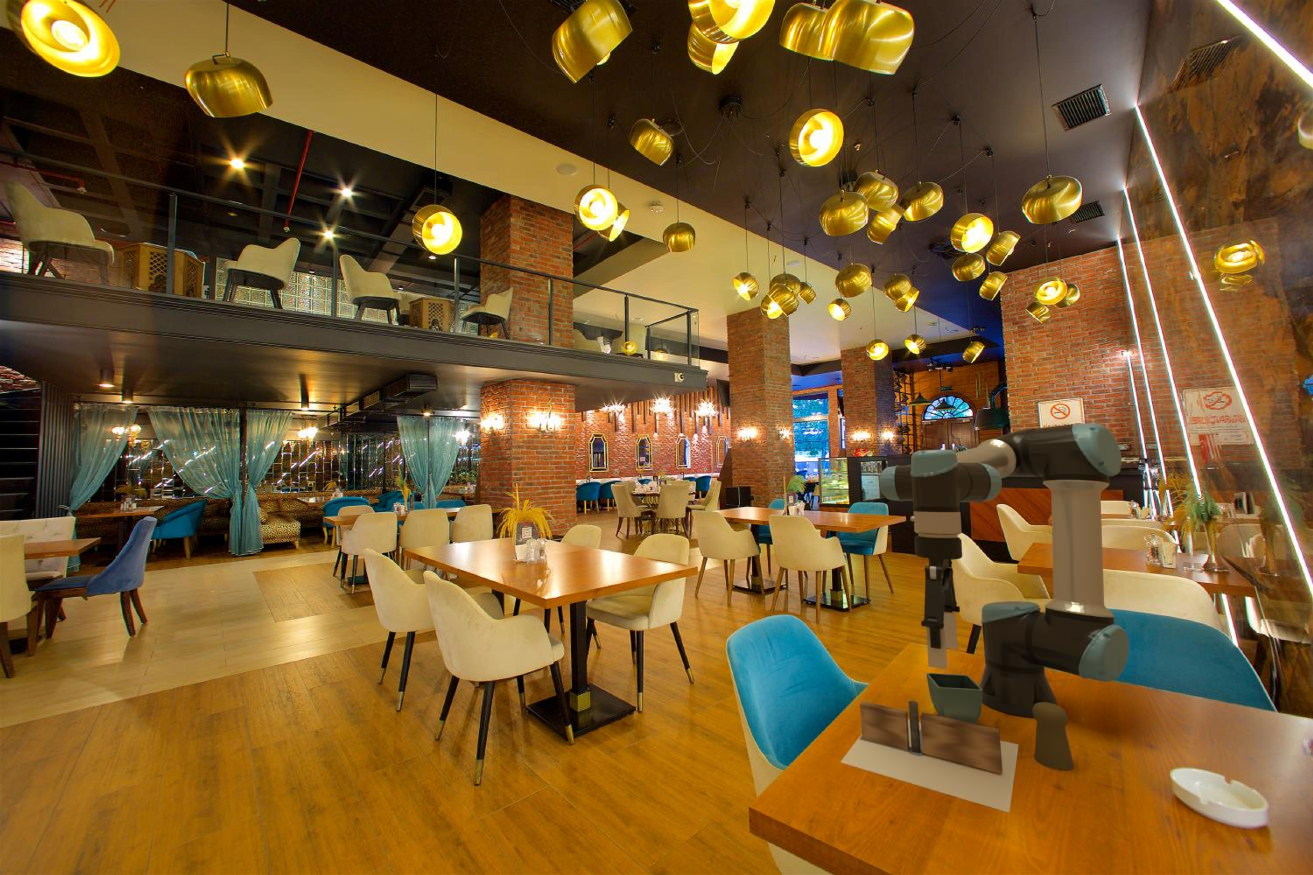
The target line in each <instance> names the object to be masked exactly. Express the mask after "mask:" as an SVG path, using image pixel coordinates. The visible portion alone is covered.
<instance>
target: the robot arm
mask: <svg viewBox="0 0 1313 875" xmlns="http://www.w3.org/2000/svg"><path fill="white" fill-rule="evenodd" d="M910 459H911V462H910V463H911V464H907V465H895V466H888V467H885V468H884V469H883V470H882V471H881V473H880V476H879V480H878V483H879V490H880V492H881V494H882V495H883V496H884V497H885V498H886V499H887V500H891V501H899V502H912V503H913V515H911V516H910V520H909V521H911V522H914V523H913V527H914V529H913V530H914V531H913V532H915V533H916V534H918V535H915V537H914V553H915V554H914V555H916V556H917V557H918V558H922V559H928V565H925V566H924V578H925V581H924V583H925V584H924V606H923V608H924V611H923V620H921V621H920V625H921V627H925V628H926V644H927V645H926V646H927V647H926V648H927V663H928V666H927V667H929V668H934V669H939V670H948V659H947V658H948V657H947V649H949V650H955V651H956V650H958V647H959V646H958V633H957V614H956V613H960V612H961V607H960V606H958V603H957V599H956V591H955V582H954V568H953V560H960V559H961V558H963V545H962V544H963V542H962V540H963V539H961V538H960V537H959V535H961V534H962V517H961V510H960V503H979V504H981V503H984V502H989V501H991V500H994V499H995V498H996V497H998V495H999V494H1000V492H1001V490H1002V486H1003V482H1002V479H1005V478H1008V477H1010V478H1011V477H1015V478H1016V477H1018V478H1019V477H1023V478H1042V484H1043V485H1044V486H1045V487H1046V488H1048V489H1049V490H1050V492H1051V534H1052V535H1051V536H1052V537H1051V538H1052V539H1051V540H1052V542H1051V543H1052V587H1053V588H1052V589H1053V590H1052V594H1053V595H1052V596H1053V598H1052V600H1050V601H1049V602H1048V603H1046V604H1045V605H1044V607H1045V608H1044V609H1045V610H1044V611H1043V612H1042V611H1041V607H1040V606H1039V604H1038V603H1035V602H1031V601H1020V600H1019V601H1015V600H1013V601H1011V600H1010V601H996V602H995V601H994V602H989V603H986V604H984V605H983V606H982V608H981V621H980V623H981V627H982V638H983V639H982V640H983V651H984V652H983V653H984V662H985V663H984V668H983V672H982V675H981V679H980V682H979V686H980V687H981V688H982V689H983V693H982V704H984V705H985V706H988V707H989V708H992V709H994V710H997V711H1000V712H1003V713H1006V714H1009V715H1015V716H1019V717H1027V718H1034V715H1033V711H1032V709H1033V706H1034V705H1035V704H1036V703H1039V702H1047V703H1052V704H1055V705H1058V702H1057V698H1056V696H1055V693H1054V691H1053V690H1052V687H1051V685H1050V683H1049V680H1048V678H1047V676H1046V670H1045V668H1047V669H1051V670H1056V671H1060V672H1063V673H1067V674H1071V675H1074V676H1078V677H1081V678H1082V679H1085V680H1089V679H1090V680H1095V681H1099V682H1103V683H1105V682H1106V683H1108V682H1113V681H1114V680H1116V679H1118V678H1119V677H1120V676H1121V674H1122V673H1123V671H1124V670H1125V667H1126V665H1127V662H1128V658H1129V652H1130V639H1129V637H1128V633H1127V631H1126V630H1125V629H1124V628H1123V627H1121V626H1120V625H1118V624H1115V615H1114V614H1113V613H1112V612H1111V611H1110V610H1109V609H1108V608H1107V607H1106V606H1105V591H1104V590H1105V588H1104V584H1105V583H1104V563H1103V562H1104V558H1103V532H1102V531H1103V526H1102V499H1101V498H1102V497H1101V493H1102V492H1103V491H1104V490H1105V489H1107V488H1108V487H1109V486H1110V477H1114V476H1117V475H1118V474H1119V473H1120V472H1121V469H1122V468H1121V467H1123V466H1122V465H1123V461H1122V453H1121V448H1120V446H1119V443H1118V441H1117V439H1116V437H1115V435H1114V434H1113V433H1112V431H1110V430H1109V428H1107V427H1106V426H1105V425H1103V424H1100V423H1095V422H1093V423H1092V422H1090V423H1074V424H1064V425H1055V426H1046V427H1038V428H1037V427H1036V428H1026V429H1021V430H1017V431H1013V432H1010V433H1007V434H1004V435H999V436H997V437H994V438H990V439H987V440H985V441H982V442H981V443H979V444H978V445H977V446H976V447H973V448H969V449H965V450H961V451H957V452H955V451H954V450H951V449H926V450H918V451H915V452H913V453H912V455H911V458H910Z"/></svg>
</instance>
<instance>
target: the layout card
mask: <svg viewBox="0 0 1313 875" xmlns="http://www.w3.org/2000/svg"><path fill="white" fill-rule="evenodd" d="M908 729H909V745H910V748H909V750H908V751H907V750H903V749H899V748H896V747H892V746H888V745H884V744H880V743H877V742H873V741H869V740H865V739H862V733H861V734H860V735H859V737H858V739H856V741H855V742H854V743H853V745H852V746H851V747H850V748H849V750H848V752H847V753H846V754H845V755H844V757H842V759H841V761H840V764H844V765H848V766H851V767H853V768H858V769H861V770H864V771H867V772H871V773H874V774H877V775H881V776H885V777H888V778H892V779H894V780H899V781H901V782H905V783H907V784H908V783H909V784H912V785H915V786H918V787H921V788H925V789H928V790H932V791H935V792H938V793H941V794H944V795H948V796H951V797H954V798H958V799H961V800H965V801H969V802H972V803H975V804H978V805H982V806H985V807H989V808H992V809H996V810H999V811H1002V812H1005V813H1008V814H1009V813H1010V809H1011V804H1012V802H1011V801H1012V796H1013V788H1014V781H1015V773H1016V767H1017V761H1018V760H1017V759H1018V752H1019V744H1017V743H1013V742H1008V741H1004V740H1001V739H1000V743H1001V756H1002V769H1003V770H1002V774H1001V773H997V772H993V771H989V770H986V769H982V768H978V767H974V766H970V765H967V764H963V763H959V762H955V761H951V760H947V759H944V758H940V757H936V756H932V755H928V754H925V753H923V748H922V733H921V721H919V730H920V746H921V753H914V752H912V750H911V733H910V718H908Z"/></svg>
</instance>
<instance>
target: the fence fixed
mask: <svg viewBox="0 0 1313 875" xmlns="http://www.w3.org/2000/svg"><path fill="white" fill-rule="evenodd" d="M859 707H860V725H861V726H860V727H861V734H862V739H865V740H869V741H873V742H877V743H880V744H884V745H888V746H892V747H896V748H899V749H903V750H907V751H908V750H909V748H910V745H909V729H908V719H910V733H911V750H912V752H914V753H921V746H920V730H919V722H920V715H919V703H918V702H917V701H915V700H909V701H908V710H904V709H899V708H897V707H896V708H895V707H891V706H886V705H881V704H877V703H873V702H868V701H864V700H862V701H861V702H860V703H859ZM908 715H909V716H908Z"/></svg>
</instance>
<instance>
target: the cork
mask: <svg viewBox="0 0 1313 875" xmlns="http://www.w3.org/2000/svg"><path fill="white" fill-rule="evenodd" d="M1032 711H1033V715H1034V717H1033V718H1034V720H1035V721H1036V728H1035V729H1036V730H1035V732H1036V733H1035V742H1034V743H1035V746H1034V756H1033V757H1034V760H1035V762H1036V763H1038V764H1040V765H1041V766H1044V767H1045V768H1049V769H1051V770H1054V771H1061V772H1062V771H1065V772H1069V771H1072V770H1074V768H1075V764H1074V760H1073V756H1072V751H1071V748H1070V744H1069V738H1068V734H1067V732H1066V731H1067V730H1066V726H1067V724H1068V722H1069V717H1068V714H1067V712H1066V710H1065V709H1064V708H1063V707H1061V706H1060V705H1058V704H1057V705H1055V704H1052V703H1047V702H1039V703H1036V704H1035V705H1034V706H1033V709H1032Z"/></svg>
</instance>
